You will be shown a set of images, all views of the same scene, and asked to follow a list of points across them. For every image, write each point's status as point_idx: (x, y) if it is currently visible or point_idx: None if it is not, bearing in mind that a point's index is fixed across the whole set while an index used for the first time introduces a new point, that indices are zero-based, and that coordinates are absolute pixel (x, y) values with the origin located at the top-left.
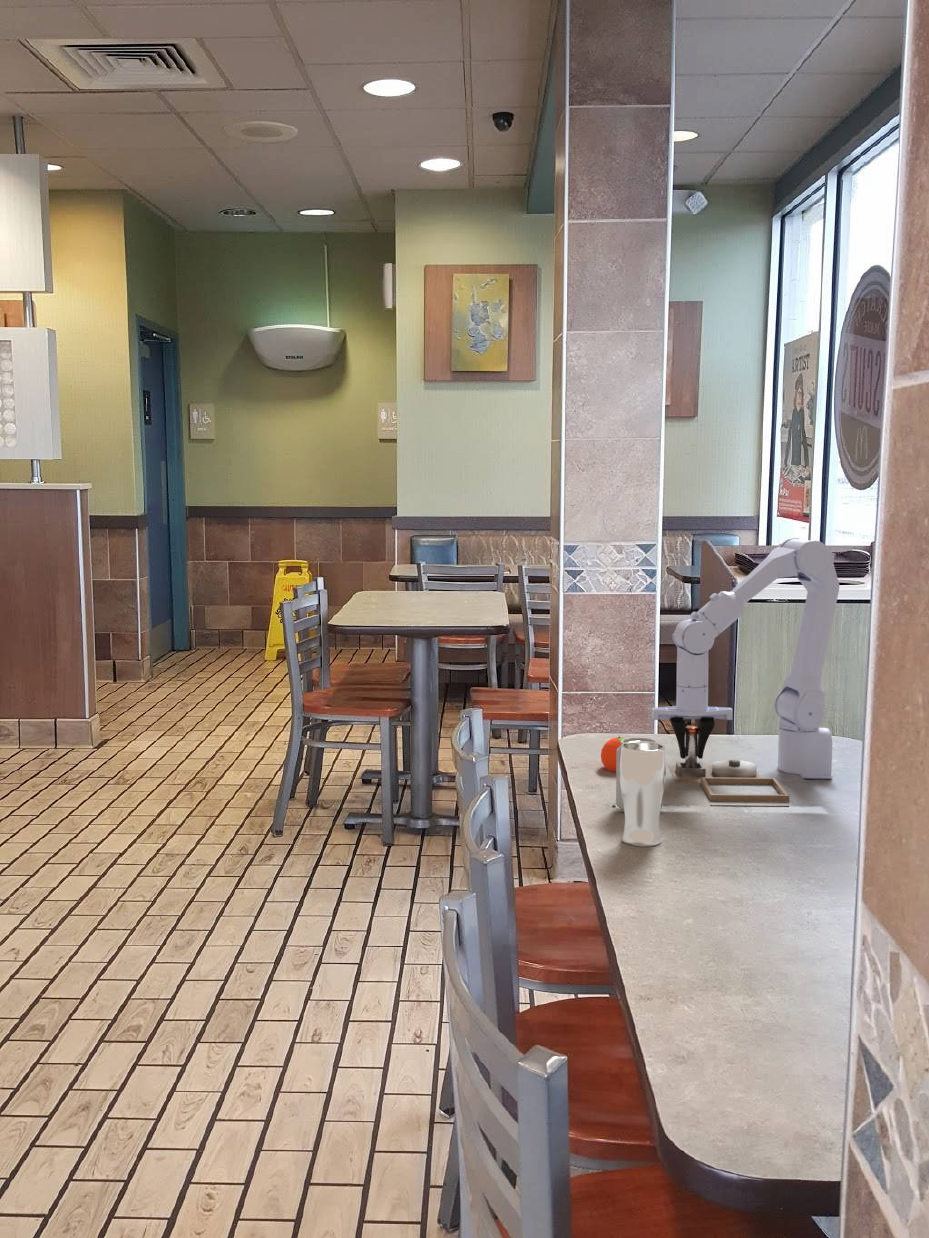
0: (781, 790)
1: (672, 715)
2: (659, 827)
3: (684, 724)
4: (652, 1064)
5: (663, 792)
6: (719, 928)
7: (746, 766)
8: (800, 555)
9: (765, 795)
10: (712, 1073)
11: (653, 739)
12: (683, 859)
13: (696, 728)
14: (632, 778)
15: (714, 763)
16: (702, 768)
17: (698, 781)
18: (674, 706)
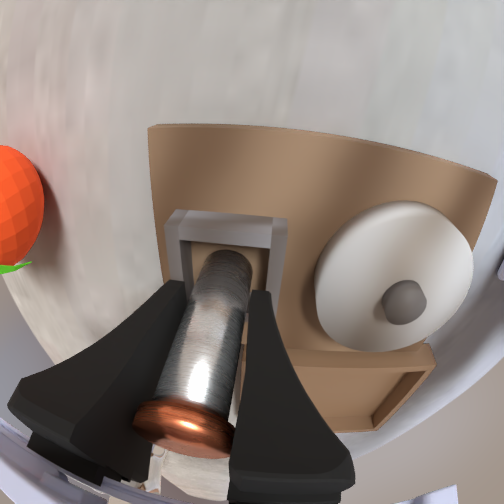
0: (385, 416)
1: (51, 471)
2: (164, 458)
3: (140, 482)
4: (182, 490)
5: (160, 490)
6: (208, 483)
7: (429, 311)
8: None
9: (338, 432)
10: (198, 494)
11: (110, 495)
12: (191, 461)
13: (213, 453)
14: None
15: (336, 270)
16: None
17: None
18: (9, 495)
